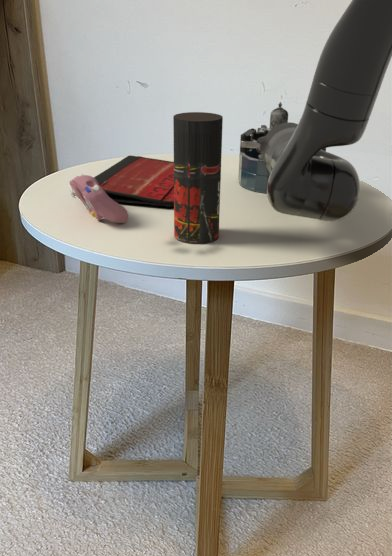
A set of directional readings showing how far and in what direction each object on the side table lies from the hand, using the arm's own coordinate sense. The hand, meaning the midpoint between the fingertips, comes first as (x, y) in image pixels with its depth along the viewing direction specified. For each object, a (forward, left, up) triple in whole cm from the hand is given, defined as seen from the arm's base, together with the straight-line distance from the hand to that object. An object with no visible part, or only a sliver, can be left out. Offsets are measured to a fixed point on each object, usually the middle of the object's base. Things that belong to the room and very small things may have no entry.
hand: (275, 131), depth 100 cm
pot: (0, +3, -8) cm, 8 cm away
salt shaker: (0, +3, -7) cm, 8 cm away
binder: (+20, +9, -8) cm, 23 cm away
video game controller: (+24, +25, -8) cm, 35 cm away
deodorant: (+9, +30, -8) cm, 32 cm away
